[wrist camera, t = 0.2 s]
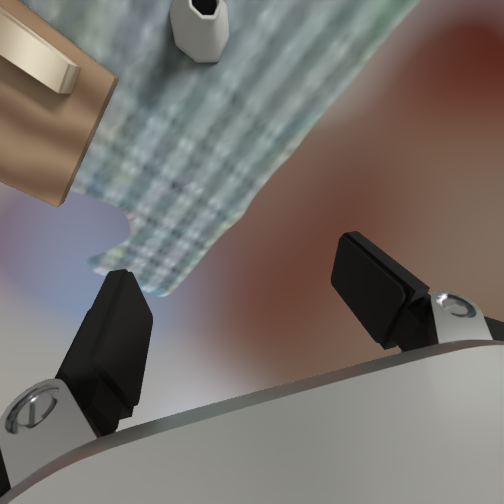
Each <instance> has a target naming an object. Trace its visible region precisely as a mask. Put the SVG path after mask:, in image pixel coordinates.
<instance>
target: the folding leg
mask: <svg viewBox="0 0 504 504" xmlns="http://www.w3.org/2000/svg"><path fill="white" fill-rule="evenodd" d="M0 55H1V56H3V57H4V58H6V59H7V60H9V61H10V62H12V63H13V64H15V65H16V66H18V67H19V68H21V69H22V70H24V71H25V72H27V73H28V74H30V75H31V76H33V77H34V78H36V79H37V80H39V81H40V82H42V83H43V84H45V85H46V86H48V87H49V88H51V89H52V90H54V91H56V92H57V93H66V94H71V92H72V90H73V87H74V85H75V82H76V79H77V77H78V74H79V72H80V69H81V67H80V66H79V65H77V64H76V63H75V62H73V61H72V60H71V59H69V58H68V57H67V56H65V55H64V54H63V53H61V52H60V51H59V50H57V49H56V48H55V47H53V46H52V45H51V44H49V43H48V42H47V41H45V40H44V39H43V38H41V37H40V36H38V35H37V34H36V33H34V32H33V31H32V30H30V29H29V28H28V27H26V26H25V25H24V24H22V23H21V22H20V21H18V20H17V19H16V18H14V17H13V16H12V15H10V14H9V13H8V12H6V11H5V10H4V9H2V8H1V7H0Z"/></svg>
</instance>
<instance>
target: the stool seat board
mask: <svg viewBox="0 0 504 504" xmlns="http://www.w3.org/2000/svg"><path fill="white" fill-rule="evenodd" d="M0 7H1V8H2V9H4V10H5V11H6V12H8V13H9V14H10V15H12V16H13V17H14V18H16V19H17V20H18V21H20V22H21V23H22V24H24V25H25V26H26V27H28V28H29V29H30V30H32V31H33V32H34V33H36V34H37V35H38V36H40V37H41V38H43V39H44V40H45V41H47V42H48V43H49V44H51V45H52V46H53V47H55V48H56V49H57V50H59V51H60V52H61V53H63V54H64V55H65V56H67V57H68V58H69V59H71V60H72V61H73V62H75V63H76V64H77V65H79V66H80V67H81V69H80V72H79V74H78V77H77V79H76V82H75V85H74V87H73V90H72V92H71V94H66V93H57V92H56V91H54V90H52V89H51V88H49V87H48V86H46V85H45V84H43V83H42V82H40V81H39V80H37V79H36V78H34V77H33V76H31V75H30V74H28V73H27V72H25V71H24V70H22V69H21V68H19V67H18V66H16V65H15V64H13V63H12V62H10V61H9V60H7V59H6V58H4V57H3V56H1V55H0V182H2V183H5V184H7V185H9V186H11V187H13V188H16V189H18V190H20V191H22V192H25V193H27V194H29V195H31V196H34V197H36V198H38V199H40V200H42V201H45V202H47V203H49V204H51V205H54V206H56V207H59V206H60V205H61V204H62V203H64V201H65V198H66V196H67V194H68V192H69V190H70V187H71V185H72V183H73V181H74V178H75V176H76V174H77V172H78V169H79V167H80V165H81V163H82V161H83V158H84V156H85V154H86V152H87V149H88V147H89V145H90V143H91V140H92V138H93V136H94V134H95V132H96V129H97V127H98V125H99V123H100V120H101V118H102V116H103V114H104V111H105V109H106V107H107V105H108V102H109V100H110V98H111V96H112V94H113V91H114V89H115V87H116V85H117V82H118V80H119V78H117V77H116V76H115V75H114V74H112V73H111V72H110V71H109V70H107V69H106V68H105V67H103V66H102V65H101V64H100V63H98V62H97V61H96V60H95V59H93V58H92V57H91V56H89V55H88V54H87V53H86V52H84V51H83V50H82V49H81V48H79V47H78V46H77V45H75V44H74V43H73V42H72V41H70V40H69V39H68V38H67V37H65V36H64V35H63V34H61V33H60V32H59V31H58V30H56V29H55V28H54V27H53V26H51V25H50V24H49V23H47V22H46V21H45V20H44V19H42V18H41V17H40V16H39V15H37V14H36V13H35V12H33V11H32V10H31V9H30V8H28V7H27V6H26V5H25V4H23V3H22V2H21V1H19V0H0Z"/></svg>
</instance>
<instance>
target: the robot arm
mask: <svg viewBox="0 0 504 504" xmlns="http://www.w3.org/2000/svg"><path fill="white" fill-rule="evenodd" d="M331 284H332V286H333V287H334V288H335V290H336V291H337V292H338V293H339V295H340V296H341V297H342V299H343V300H344V301H345V303H346V304H347V305H348V307H349V308H350V309H351V310H352V312H353V313H354V315H355V316H356V317H357V318H358V320H359V321H360V322H361V324H362V325H363V326H364V328H365V329H366V330H367V332H368V333H369V334H370V335H371V337H372V338H373V339H374V340H375V342H377V343H380V345H381V346H382V347H383V348H384V349H385V350H386V349H389V348H393V347H396V346H397V345H398V346H399V348H400V349H401V353H399V354H395V355H391V356H387V357H384V358H380V359H376V360H372V361H369V362H365V363H361V364H358V365H354V366H350V367H346V368H342V369H338V370H335V371H331V372H327V373H324V374H320V375H316V376H312V377H309V378H305V379H301V380H297V381H294V382H290V383H287V384H283V385H279V386H275V387H272V388H268V389H264V390H261V391H257V392H253V393H250V394H246V395H242V396H239V397H235V398H231V399H228V400H224V401H220V402H217V403H213V404H210V405H206V406H202V407H199V408H195V409H192V410H188V411H184V412H181V413H177V414H174V415H171V416H167V417H164V418H160V419H157V420H153V421H150V422H147V423H144V424H140V425H136V426H133V427H130V428H127V429H124V430H121V431H118V432H116V431H115V430H116V429H117V428H118V424H119V420H120V419H124V418H128V417H132V412H133V408H134V406H136V405H138V403H139V399H140V394H141V387H142V382H143V376H144V371H145V365H146V358H147V353H148V348H149V341H150V336H151V330H152V324H153V316H152V313H151V311H150V309H149V307H148V305H147V302H146V300H145V298H144V296H143V294H142V292H141V289H140V287H139V285H138V283H137V281H136V279H135V277H134V274H133V273H132V272H128V271H127V270H126V269H122V270H116V271H110V272H109V273H108V274H107V276H106V278H105V280H104V283H103V284H102V287H101V289H100V291H99V293H98V295H97V297H96V299H95V301H94V303H93V305H92V307H91V309H90V310H89V311H88V312H87V314H86V316H85V318H84V320H83V322H82V324H81V326H80V328H79V330H78V332H77V334H76V336H75V338H74V340H73V342H72V344H71V346H70V348H69V350H68V352H67V354H66V356H65V358H64V360H63V362H62V364H61V366H60V368H59V370H58V373H57V375H56V377H55V378H54V379H48V380H45V381H42V382H39V383H37V384H35V385H33V386H32V387H30V388H28V389H27V390H25V391H24V392H23V393H22V394H20V395H19V396H18V397H17V398H16V399H15V400H14V401H13V402H12V403H11V404H10V405H9V406H8V407H7V409H6V410H5V412H4V413H3V415H2V416H1V418H0V504H504V322H501V321H498V320H494V319H491V318H488V317H485V316H483V314H482V312H481V310H480V309H479V307H478V306H477V305H476V304H474V303H473V302H472V301H471V300H469V299H467V298H466V297H464V296H461V295H459V294H456V293H453V292H448V291H437V292H435V293H433V294H432V295H429V294H428V293H427V292H428V290H429V289H430V288H429V287H428V286H427V285H425V284H424V283H423V282H422V281H420V280H419V279H417V277H415V276H414V275H413V274H411V273H410V272H409V271H408V270H406V269H405V268H404V267H402V266H401V265H400V264H399V263H397V262H396V261H395V260H394V259H392V258H391V257H390V256H389V255H387V254H386V253H385V252H383V251H382V250H381V249H380V248H378V247H377V246H376V245H374V244H373V243H372V242H370V241H369V240H368V239H367V238H366V237H364V236H363V235H362V234H360V233H359V232H357V231H353V232H348V233H344V234H343V235H342V237H340V239H339V243H338V248H337V252H336V257H335V262H334V267H333V271H332V275H331Z"/></svg>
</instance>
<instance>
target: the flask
mask: <svg viewBox="0 0 504 504" xmlns="http://www.w3.org/2000/svg"><path fill="white" fill-rule="evenodd" d="M169 13H170V19H171V24H172V30H173V35H174V40H175V45H176V46H177V47H178V48H179V49H180V50H182V51H183V52H184V53H185V54H187V55H188V56H189V57H190V58H191V59H193V60H194V61H195V62H196V63H208V62H219V60H220V58H221V56H222V54H223V52H224V49H225V47H226V45H227V43H228V41H229V39H230V35H229V22H228V9H227V4H226V3H225V2H224V1H223V0H173V3H172V6H171V8H170V11H169Z"/></svg>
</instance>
